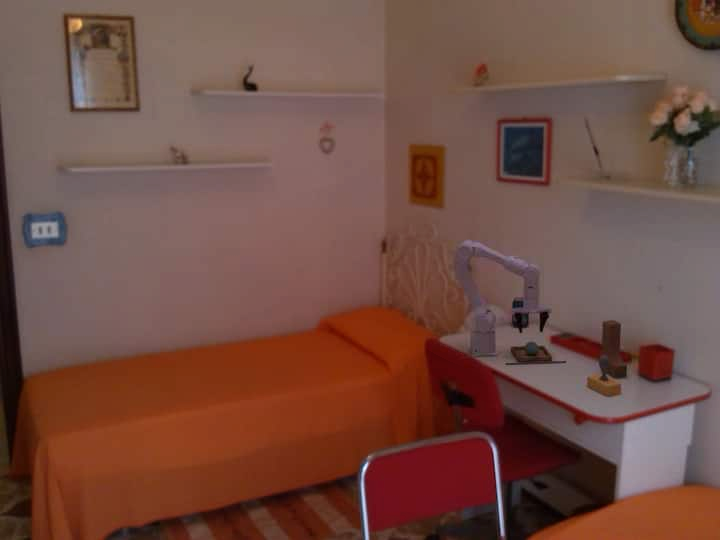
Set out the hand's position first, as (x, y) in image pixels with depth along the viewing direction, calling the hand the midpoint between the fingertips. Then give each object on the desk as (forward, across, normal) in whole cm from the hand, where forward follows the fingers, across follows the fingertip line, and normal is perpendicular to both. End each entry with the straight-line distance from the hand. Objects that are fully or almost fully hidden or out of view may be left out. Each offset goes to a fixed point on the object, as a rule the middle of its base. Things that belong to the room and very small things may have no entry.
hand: (530, 332), depth 264 cm
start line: (+9, 0, -8) cm, 12 cm away
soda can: (+10, +4, +37) cm, 39 cm away
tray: (+9, 0, 0) cm, 9 cm away
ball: (+6, 0, 0) cm, 6 cm away
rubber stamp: (+10, +16, -35) cm, 39 cm away
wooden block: (+10, +24, -21) cm, 33 cm away
